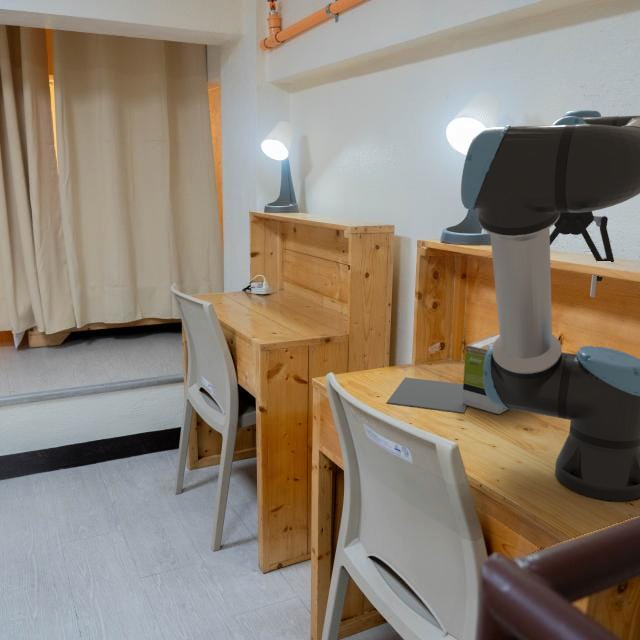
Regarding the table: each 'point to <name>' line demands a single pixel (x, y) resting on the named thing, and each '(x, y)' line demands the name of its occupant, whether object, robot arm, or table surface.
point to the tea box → (477, 376)
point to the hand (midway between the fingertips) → (564, 294)
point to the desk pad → (429, 395)
